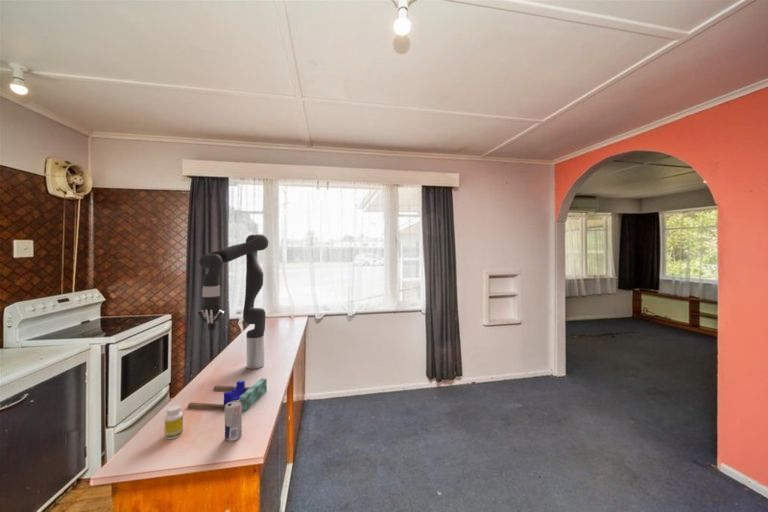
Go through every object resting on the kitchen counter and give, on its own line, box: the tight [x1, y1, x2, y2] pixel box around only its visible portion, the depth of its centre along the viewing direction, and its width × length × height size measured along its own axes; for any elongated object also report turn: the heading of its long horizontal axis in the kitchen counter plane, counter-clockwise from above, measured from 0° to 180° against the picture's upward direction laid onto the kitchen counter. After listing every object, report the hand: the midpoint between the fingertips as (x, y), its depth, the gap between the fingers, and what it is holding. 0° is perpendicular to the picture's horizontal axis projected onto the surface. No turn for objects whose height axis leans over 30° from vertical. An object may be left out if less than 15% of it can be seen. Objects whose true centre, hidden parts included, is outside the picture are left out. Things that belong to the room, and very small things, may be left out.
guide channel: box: [187, 378, 268, 412], centre depth 136 cm, size 18×26×6 cm
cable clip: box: [223, 380, 246, 405], centre depth 135 cm, size 12×4×6 cm, turn 178°
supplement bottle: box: [163, 404, 184, 440], centre depth 109 cm, size 5×5×10 cm
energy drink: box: [224, 400, 243, 443], centre depth 108 cm, size 5×5×12 cm
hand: (211, 330), depth 149 cm, fingers closed
